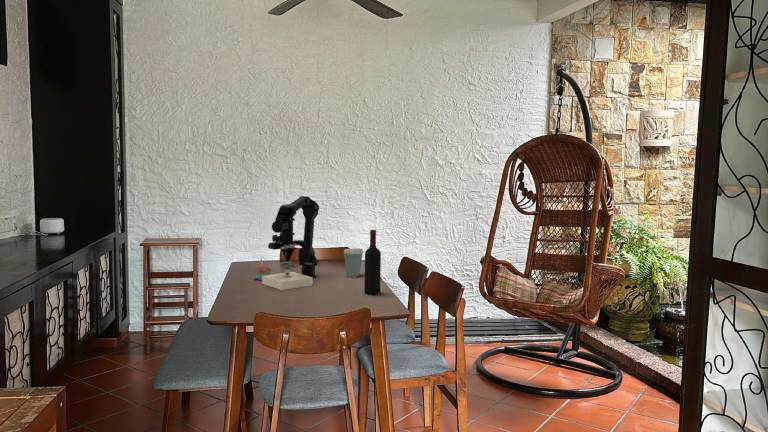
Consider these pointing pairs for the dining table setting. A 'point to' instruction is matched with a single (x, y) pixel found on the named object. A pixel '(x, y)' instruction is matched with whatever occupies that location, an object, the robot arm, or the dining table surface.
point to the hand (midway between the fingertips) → (287, 261)
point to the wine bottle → (372, 267)
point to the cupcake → (262, 271)
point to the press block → (287, 280)
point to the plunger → (287, 266)
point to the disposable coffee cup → (353, 261)
